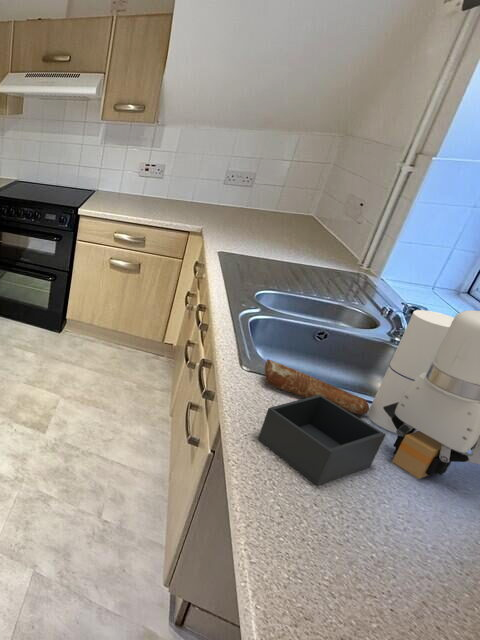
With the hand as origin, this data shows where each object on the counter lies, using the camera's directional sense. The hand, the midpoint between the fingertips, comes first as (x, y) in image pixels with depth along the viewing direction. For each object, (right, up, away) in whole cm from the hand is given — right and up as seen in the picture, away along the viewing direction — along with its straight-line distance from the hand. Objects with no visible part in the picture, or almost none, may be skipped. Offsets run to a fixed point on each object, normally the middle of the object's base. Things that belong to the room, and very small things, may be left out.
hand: (416, 462), depth 76 cm
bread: (-4, +6, +19) cm, 20 cm away
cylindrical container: (+7, +3, +11) cm, 14 cm away
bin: (-17, 0, +3) cm, 17 cm away
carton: (0, -1, 0) cm, 1 cm away
